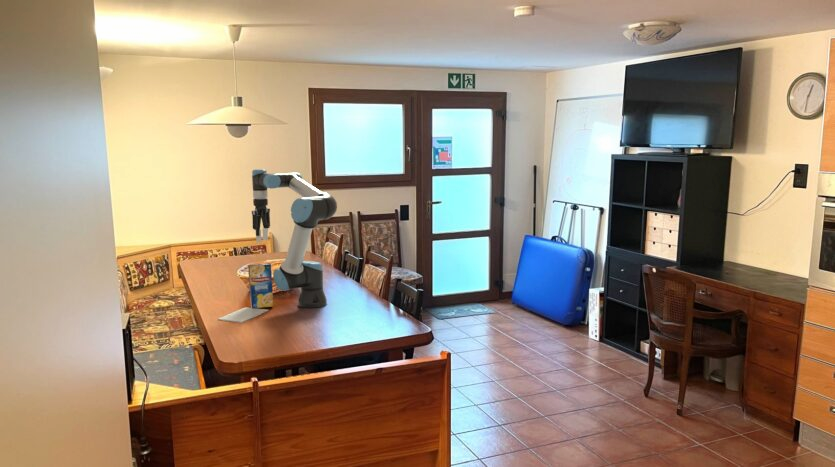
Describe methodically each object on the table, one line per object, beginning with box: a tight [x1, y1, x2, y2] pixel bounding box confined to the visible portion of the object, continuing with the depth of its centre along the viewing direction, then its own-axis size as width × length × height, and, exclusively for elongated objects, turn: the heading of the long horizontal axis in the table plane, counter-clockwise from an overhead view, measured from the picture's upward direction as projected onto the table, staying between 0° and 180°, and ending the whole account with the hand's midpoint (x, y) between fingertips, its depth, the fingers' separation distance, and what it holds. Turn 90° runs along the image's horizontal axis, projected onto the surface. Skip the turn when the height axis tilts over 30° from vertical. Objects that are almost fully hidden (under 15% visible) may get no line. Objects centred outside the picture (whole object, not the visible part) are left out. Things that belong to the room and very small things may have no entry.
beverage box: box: [247, 263, 274, 309], centre depth 308 cm, size 7×11×22 cm, turn 112°
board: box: [217, 306, 270, 324], centre depth 293 cm, size 14×22×1 cm, turn 160°
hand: (262, 240), depth 319 cm, fingers open, 5 cm apart
